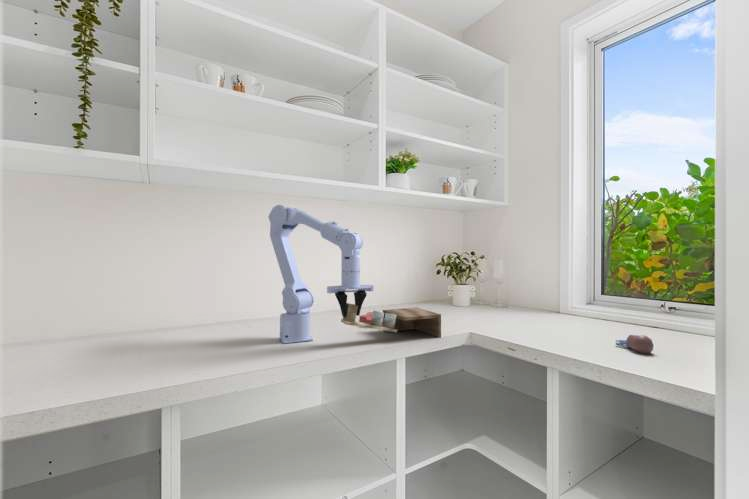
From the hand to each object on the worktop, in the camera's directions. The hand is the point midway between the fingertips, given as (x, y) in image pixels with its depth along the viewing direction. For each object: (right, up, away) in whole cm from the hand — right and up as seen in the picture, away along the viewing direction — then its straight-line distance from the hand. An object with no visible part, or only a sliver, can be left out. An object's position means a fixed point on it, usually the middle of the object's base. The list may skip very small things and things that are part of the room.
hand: (350, 315), depth 104 cm
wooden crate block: (+20, -9, +13) cm, 25 cm away
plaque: (+9, -10, +33) cm, 35 cm away
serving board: (+6, -4, +3) cm, 7 cm away
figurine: (+83, -9, -6) cm, 84 cm away
